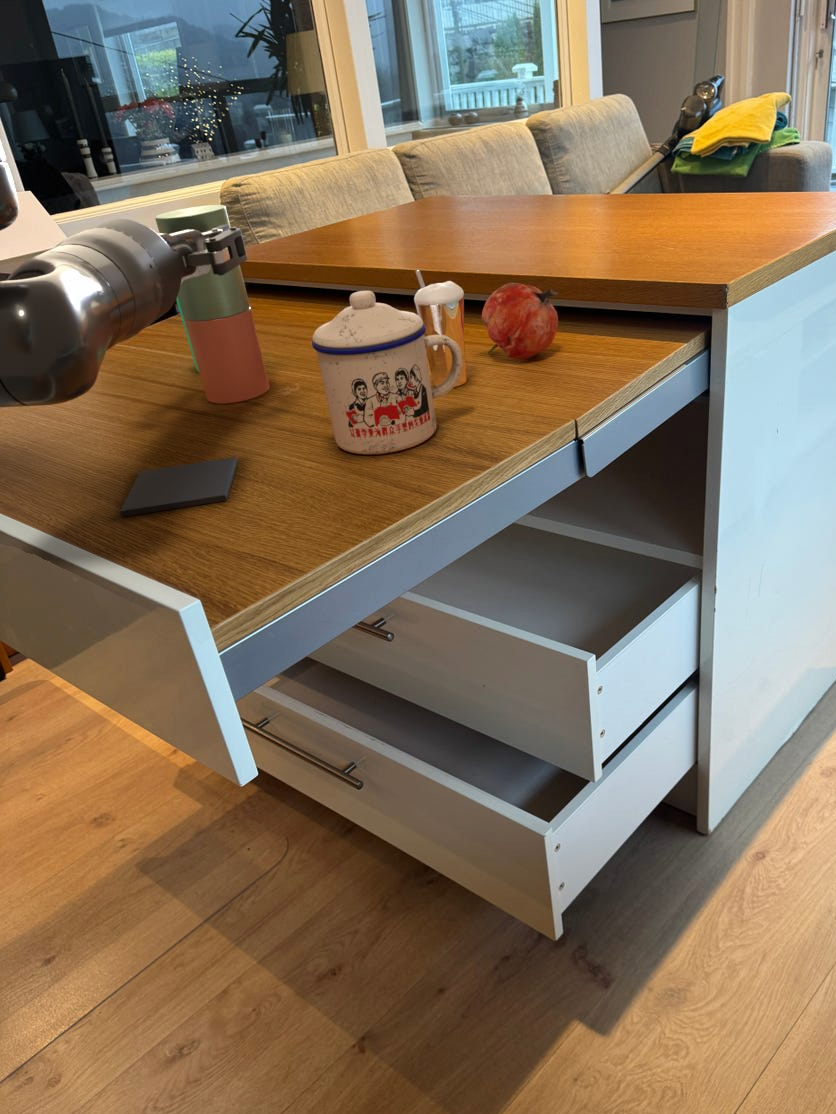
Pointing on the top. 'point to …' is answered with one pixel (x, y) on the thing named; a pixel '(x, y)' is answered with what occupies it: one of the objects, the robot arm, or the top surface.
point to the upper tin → (210, 291)
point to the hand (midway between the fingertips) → (182, 242)
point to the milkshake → (442, 325)
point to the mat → (180, 486)
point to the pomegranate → (520, 320)
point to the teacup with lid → (380, 376)
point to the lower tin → (229, 358)
